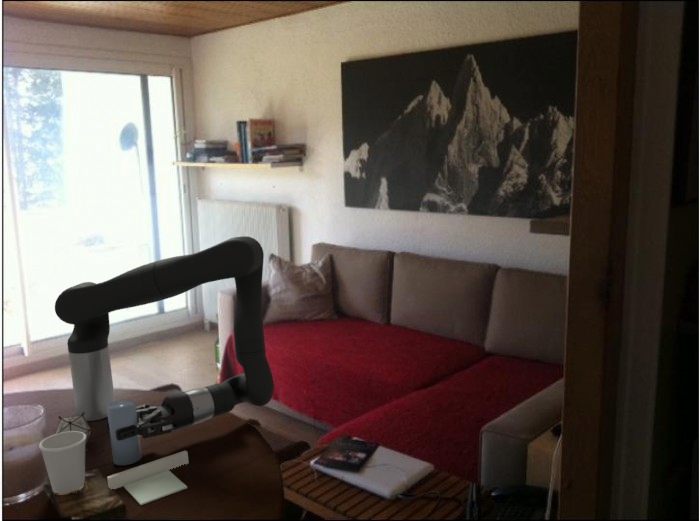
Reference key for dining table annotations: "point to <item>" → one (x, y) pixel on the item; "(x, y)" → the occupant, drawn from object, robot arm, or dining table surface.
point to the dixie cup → (65, 460)
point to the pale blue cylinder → (121, 417)
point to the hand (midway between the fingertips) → (111, 430)
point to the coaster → (155, 487)
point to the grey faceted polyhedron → (74, 426)
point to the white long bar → (147, 470)
